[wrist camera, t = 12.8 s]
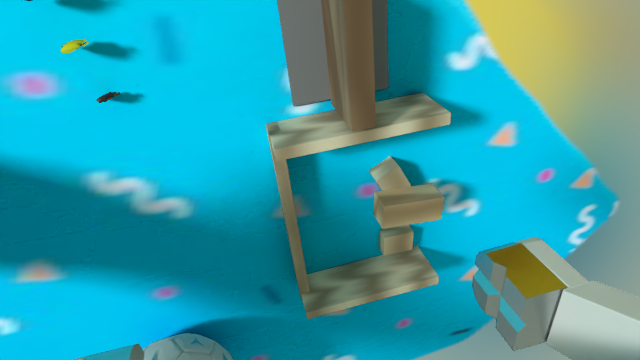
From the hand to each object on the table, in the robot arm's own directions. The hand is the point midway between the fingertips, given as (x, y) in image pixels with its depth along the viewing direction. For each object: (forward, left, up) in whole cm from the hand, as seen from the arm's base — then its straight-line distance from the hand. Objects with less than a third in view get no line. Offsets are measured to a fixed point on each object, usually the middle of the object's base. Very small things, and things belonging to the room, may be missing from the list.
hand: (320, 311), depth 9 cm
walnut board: (+9, -1, -31) cm, 32 cm away
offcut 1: (+15, -20, -32) cm, 40 cm away
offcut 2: (+15, -20, -28) cm, 38 cm away
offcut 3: (+14, -27, -31) cm, 44 cm away
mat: (+9, -1, -31) cm, 32 cm away
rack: (+9, -20, -31) cm, 38 cm away
